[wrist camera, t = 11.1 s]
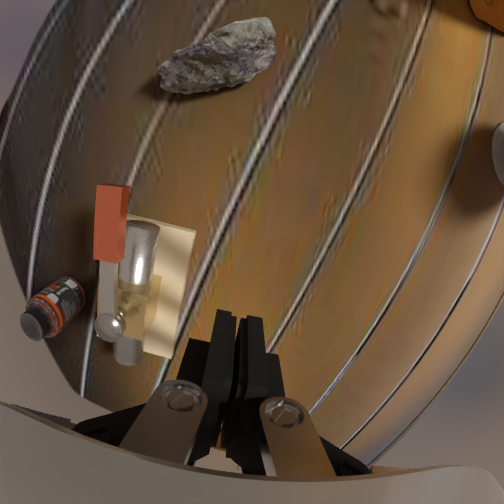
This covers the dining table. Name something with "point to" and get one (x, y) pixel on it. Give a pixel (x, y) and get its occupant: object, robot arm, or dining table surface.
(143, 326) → the valve body
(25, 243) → the dining table surface
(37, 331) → the supplement bottle
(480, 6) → the coffee package
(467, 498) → the robot arm
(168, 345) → the board
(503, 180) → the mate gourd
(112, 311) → the lever
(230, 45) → the mineral rock
